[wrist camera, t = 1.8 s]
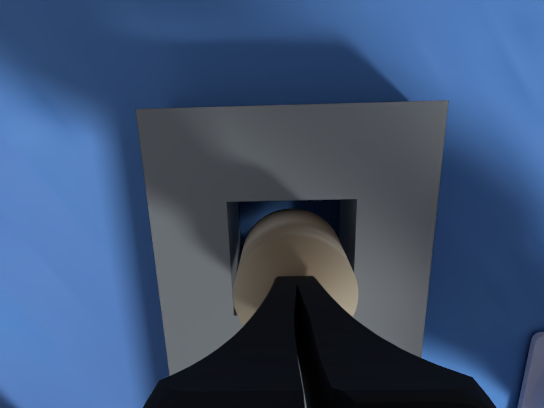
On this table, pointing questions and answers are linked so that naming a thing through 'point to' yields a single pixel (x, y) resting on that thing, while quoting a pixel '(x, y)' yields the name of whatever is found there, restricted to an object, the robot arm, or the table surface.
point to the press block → (291, 186)
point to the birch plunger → (292, 260)
